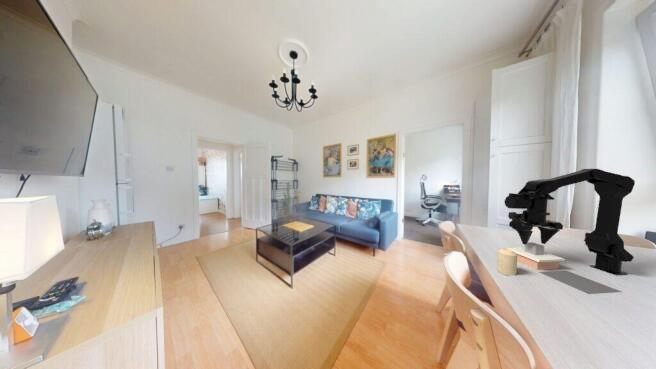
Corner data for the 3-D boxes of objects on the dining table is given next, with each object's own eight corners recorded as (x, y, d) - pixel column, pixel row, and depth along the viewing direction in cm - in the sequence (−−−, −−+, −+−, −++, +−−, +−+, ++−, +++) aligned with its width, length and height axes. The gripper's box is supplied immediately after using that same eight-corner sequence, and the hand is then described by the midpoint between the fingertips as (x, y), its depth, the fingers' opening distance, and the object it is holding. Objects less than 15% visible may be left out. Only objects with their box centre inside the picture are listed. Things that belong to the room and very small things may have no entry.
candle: (520, 277, 68) (521, 252, 67) (503, 276, 69) (505, 251, 68) (508, 270, 73) (510, 246, 73) (493, 268, 74) (494, 245, 74)
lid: (529, 248, 84) (529, 238, 84) (564, 260, 72) (565, 249, 72) (506, 249, 83) (507, 239, 83) (538, 262, 71) (539, 250, 71)
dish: (529, 258, 83) (529, 249, 83) (558, 270, 73) (559, 259, 73) (510, 259, 82) (510, 250, 82) (536, 271, 72) (537, 260, 72)
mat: (566, 271, 72) (566, 270, 72) (622, 293, 59) (622, 291, 59) (538, 273, 71) (538, 272, 71) (588, 295, 58) (588, 294, 58)
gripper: (532, 205, 85) (530, 236, 86) (497, 206, 83) (495, 237, 84) (565, 210, 74) (562, 246, 75) (525, 211, 72) (523, 247, 73)
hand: (533, 243), depth 77 cm, fingers open, 9 cm apart
